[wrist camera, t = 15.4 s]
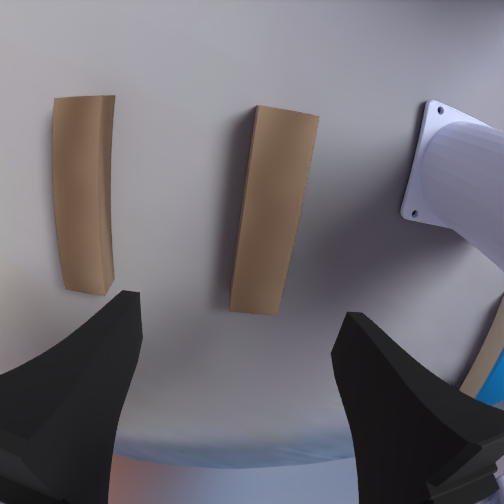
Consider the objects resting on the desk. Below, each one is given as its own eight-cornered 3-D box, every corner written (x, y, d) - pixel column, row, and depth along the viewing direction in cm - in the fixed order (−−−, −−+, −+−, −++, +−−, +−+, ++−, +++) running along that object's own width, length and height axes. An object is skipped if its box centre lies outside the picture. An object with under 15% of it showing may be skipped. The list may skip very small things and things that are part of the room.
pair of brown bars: (310, 114, 16) (319, 116, 15) (273, 297, 22) (277, 315, 20) (70, 97, 15) (53, 98, 13) (76, 273, 20) (65, 289, 18)
